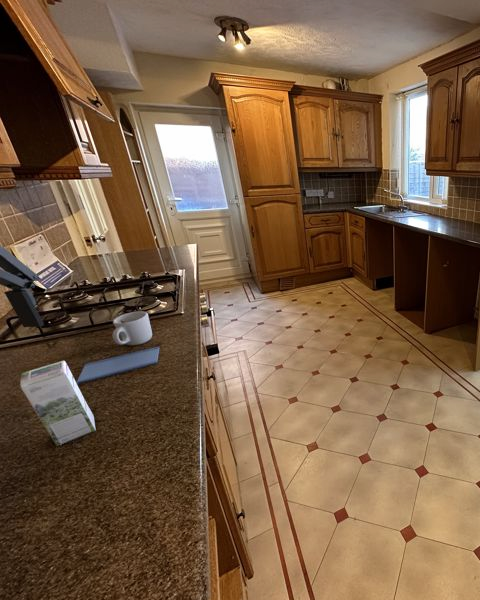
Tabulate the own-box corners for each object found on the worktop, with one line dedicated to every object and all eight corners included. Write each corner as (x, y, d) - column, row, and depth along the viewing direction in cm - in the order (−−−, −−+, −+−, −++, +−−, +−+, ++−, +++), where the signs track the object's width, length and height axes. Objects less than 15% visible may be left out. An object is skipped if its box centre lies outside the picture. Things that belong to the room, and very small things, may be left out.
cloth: (76, 384, 77) (75, 382, 77) (85, 365, 84) (85, 364, 84) (157, 363, 85) (156, 362, 84) (159, 347, 92) (158, 346, 92)
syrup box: (94, 416, 68) (64, 358, 62) (96, 431, 64) (65, 371, 58) (56, 431, 64) (20, 371, 58) (56, 448, 60) (18, 386, 54)
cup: (135, 353, 89) (125, 328, 86) (107, 354, 89) (95, 328, 86) (162, 334, 99) (153, 310, 96) (136, 334, 99) (127, 311, 96)
